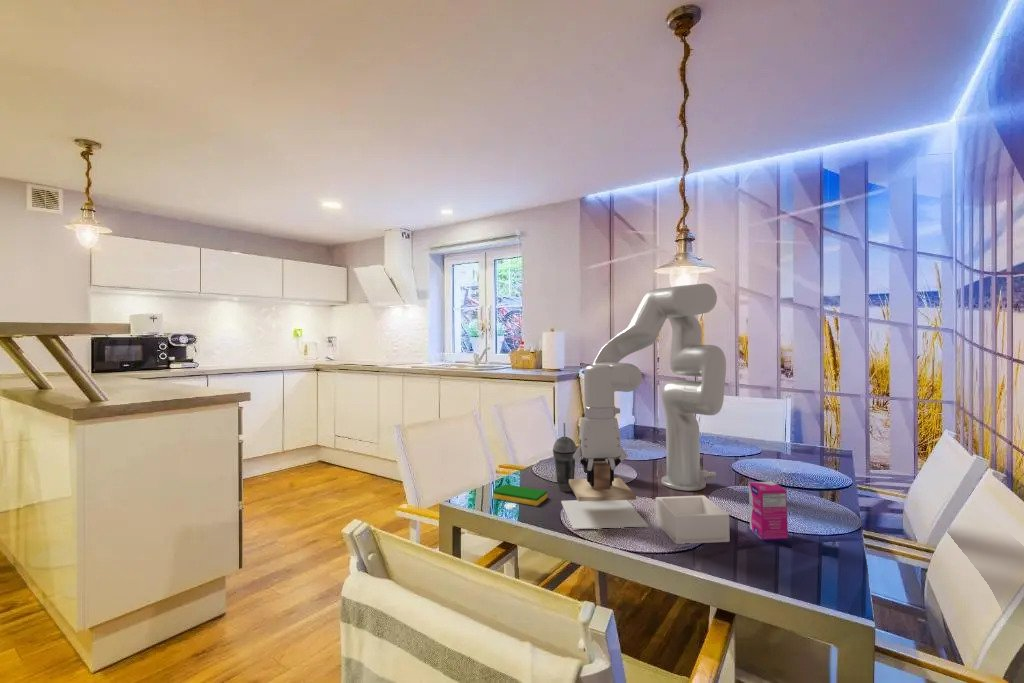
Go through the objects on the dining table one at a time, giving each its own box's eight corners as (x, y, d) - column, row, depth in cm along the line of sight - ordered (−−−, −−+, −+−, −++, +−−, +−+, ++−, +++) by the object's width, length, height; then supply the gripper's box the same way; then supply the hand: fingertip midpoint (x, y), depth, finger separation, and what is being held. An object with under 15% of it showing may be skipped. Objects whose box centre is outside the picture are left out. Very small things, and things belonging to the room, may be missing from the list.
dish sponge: (505, 491, 136) (505, 483, 136) (547, 499, 130) (547, 490, 130) (493, 499, 130) (492, 491, 130) (536, 507, 124) (536, 498, 124)
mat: (625, 500, 126) (625, 498, 126) (648, 527, 108) (648, 525, 108) (561, 502, 125) (561, 500, 125) (573, 530, 108) (573, 528, 107)
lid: (619, 481, 124) (619, 455, 124) (636, 499, 110) (635, 470, 110) (568, 482, 123) (568, 457, 123) (578, 501, 109) (578, 472, 109)
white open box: (704, 519, 112) (703, 495, 112) (729, 541, 100) (729, 514, 100) (656, 521, 111) (655, 497, 111) (675, 544, 99) (675, 516, 99)
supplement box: (748, 530, 105) (747, 481, 105) (774, 530, 105) (774, 480, 105) (761, 541, 100) (760, 489, 100) (789, 541, 99) (788, 489, 99)
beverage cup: (577, 485, 140) (576, 420, 140) (578, 493, 133) (577, 424, 132) (553, 484, 141) (552, 420, 140) (553, 492, 133) (551, 424, 133)
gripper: (627, 410, 121) (628, 479, 121) (564, 411, 120) (565, 480, 120) (636, 414, 113) (637, 488, 113) (569, 416, 112) (570, 490, 113)
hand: (600, 483), depth 117 cm, fingers closed on lid, 4 cm apart
